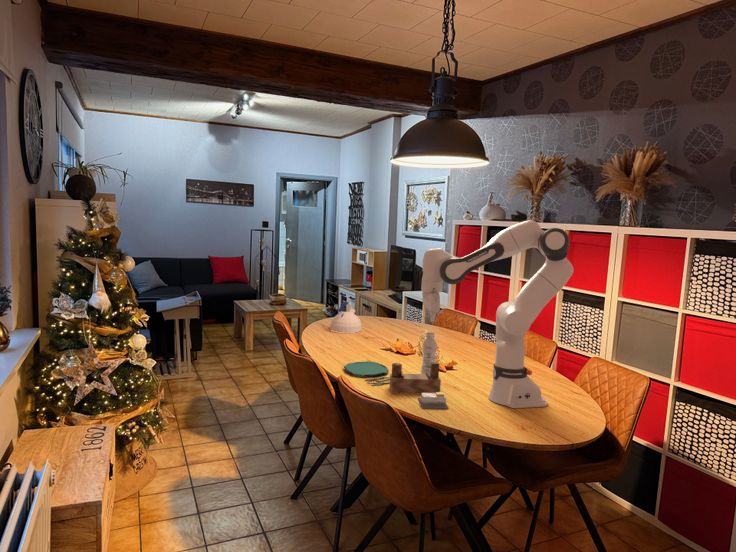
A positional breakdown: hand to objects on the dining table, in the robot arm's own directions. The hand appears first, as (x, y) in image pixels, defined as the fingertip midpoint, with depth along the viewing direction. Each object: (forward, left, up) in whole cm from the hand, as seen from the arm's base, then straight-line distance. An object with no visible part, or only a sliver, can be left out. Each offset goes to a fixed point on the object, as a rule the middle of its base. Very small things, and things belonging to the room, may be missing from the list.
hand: (430, 319), depth 211 cm
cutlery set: (+23, -16, -30) cm, 41 cm away
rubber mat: (+1, +20, -29) cm, 35 cm away
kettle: (+33, -104, -30) cm, 113 cm away
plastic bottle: (-3, -14, -29) cm, 33 cm away
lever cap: (+1, +20, -28) cm, 35 cm away
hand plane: (+6, +5, -29) cm, 30 cm away
